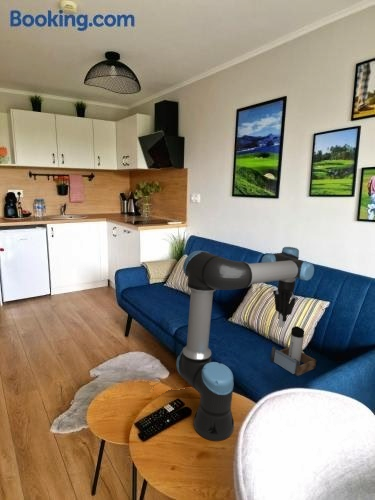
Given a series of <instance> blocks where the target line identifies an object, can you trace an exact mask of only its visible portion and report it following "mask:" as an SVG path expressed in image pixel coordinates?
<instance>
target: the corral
mask: <svg viewBox="0 0 375 500" xmlns="http://www.w3.org/2000/svg"><path fill="white" fill-rule="evenodd" d="M275 350H277V349H276V347H275V346H272V347H271V353H270V362H271V363H275V362H274V357H275ZM279 351H280V352H282V353H284V354H286V355H287V356H288V353H289V346H287V347H286V348H282V349H280V350H279ZM294 360H296V359H294ZM296 361H297V363H296V370H295V374H294V375H295V376H297V377H299V376H301V375H303V374H306V373H307V372H310V371H312V370H314V369H316V367H317V366H316V364H317V359H315V358H313V357H311V356H309V355H307V354H305V353H304V352H303V351H302V352H301V359H300V361H298V360H296ZM299 362H300V363H303V364H300V366H299Z"/></svg>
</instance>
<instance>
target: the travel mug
mask: <svg viewBox="0 0 375 500" xmlns="http://www.w3.org/2000/svg"><path fill="white" fill-rule="evenodd" d="M304 337H305V329H304V328H302V327H299V326H297V325H294V326H292V328H291V333H290V337H289V338H290V339H289V346H288V347H289V353H288V356H289V357H291V358H293V359H296V360H298V361H300V359H301V352H302V353H303V346H304V345H303V344H304V339H305V338H304ZM300 365H301V361H300V362H299V366H300Z"/></svg>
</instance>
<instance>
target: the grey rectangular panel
mask: <svg viewBox="0 0 375 500" xmlns="http://www.w3.org/2000/svg"><path fill="white" fill-rule="evenodd" d="M273 363H275V364H276V365H279V366H280V367H282V368H283V369H284V370H286V371H287V372H289V373H291V374H292V375H296V374H295V370H296V363H297V361H296V360H294V359H293V358H291V357H289V356H287V355H286V354H284V353H282V352H280V350H278V349H276V350H275V357H274V362H273Z"/></svg>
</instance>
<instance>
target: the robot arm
mask: <svg viewBox="0 0 375 500" xmlns="http://www.w3.org/2000/svg"><path fill="white" fill-rule="evenodd" d="M299 255H300V250H299V248H297V247H293V246H284V247H282V250H281V252H275V253H274V252H273V253H272V252H271V253H267V254H264V256H262V258H261V262H254V263H253V262H252V263H248V262H246V261H236V260H231V259H228V258H225V257H222V256H219V255H216V254H213V253H211V252H208V251H204V250H195V251H192V252H190V254H188V256H186V258H185V259H184V262H183V264H182V265H183V267H182V269H183V273H184V275H185V276H186V277H187V288H188V289H189V290H190V296H189V297H190V299H189V311H188V312H189V313H188V323H187V326H188V327H187V337H186V338H187V339H186V345H185V346H184V347H183V348H182V350H181V352H180V353H179V355H178V356H177V358H176V362H175V364H176V370H177V373H179V375H180V377H182V378H183V380H185V381H186V382H187V383H188V384H189V385H190V386H191V387H192V388H193V389H195V390H196V392H197V393H199V396H200V398H199V400H200V401H199V406H198V408H197V411H196V413H195V415H194V418H193V427H194V430H195V431H196V433H197V434H198V435H199V436H201V437H202V438H204V439H206V440H208V441H214V442H219V441H223V440H226V439H228V438H230V437H231V436H232V435H233V433H234V430H235V429H234V428H235V421H234V417H233V413H232V409H231V408H232V402H233V401H232V399H233V391H234V375H233V372H232V370H231V369H230V368H229V367H228V366H227V365H225V364H224V363H219V362H216V361H212V350H211V349H210V348H209V343H210V340H209V339H210V331H211V319H212V309H213V298H214V297H213V296H214V292H216V290H218V291H219V290H221V291H223V290H224V291H227V290H228V291H231V290H238V289H239V290H240V289H247V288H248V287H251V285H255V284H263V283H269V282H270V283H271V282H278V283H277V287H278V288H277V289H276V290H275V289H274V290H272V292H273V296H274V305H275V311H276V312H277V313H278V315H277V316H278V317H277V319H278V326H277V327H278V328H284V327H285V324H286V322H287V319H288V316H290V315H292V312H293V310H294V307H295V305H296V302H297V301H298V300H299V297H297V296H295V292H294V290H295V288H296V287H295V286H296V279H299V280H302V281H310V280H312V278H313V276H314V273H315V266H314V264H312V263H311V262H308V261H306V260H303V259H299V258H300V257H299Z"/></svg>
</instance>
